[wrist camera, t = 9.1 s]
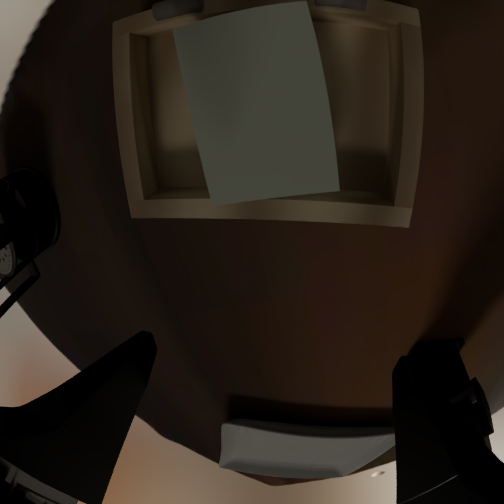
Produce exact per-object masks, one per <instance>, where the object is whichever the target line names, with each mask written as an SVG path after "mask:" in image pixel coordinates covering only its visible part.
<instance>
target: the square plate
mask: <svg viewBox="0 0 504 504" xmlns="http://www.w3.org/2000/svg"><path fill="white" fill-rule="evenodd" d="M394 445H395V433H394V427H329V426H312V425H299V424H289V423H281V422H271V421H261V420H254V419H243V418H240V419H233V420H231V421H229V422H227V423H223V424H222V428H221V457H220V461H219V467H221V468H225V469H230V470H236V471H241V472H247V473H253V474H259V475H266V476H275V477H288V478H335V477H344V476H346V475H347V474H349V473H351V472H353V471H355V470H357V469H359V468H361V467H362V466H364V465H366V464H367V463H369V462H371V461H372V460H374V459H375V458H377V457H378V456H380V455H381V454H383V453H384V452H386V451H387V450H388V449H390V448H391V447H392V446H394Z"/></svg>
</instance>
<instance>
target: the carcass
mask: <svg viewBox="0 0 504 504" xmlns="http://www.w3.org/2000/svg"><path fill="white" fill-rule="evenodd" d="M298 1H307V5H308V8H309V12H310V16H311V19H312V23H313V27H314V31H315V35H316V40H317V44H318V48H319V53H320V57H321V62H322V67H323V72H324V77H325V82H326V88H327V94H328V100H329V106H330V112H331V119H332V126H333V133H334V141H335V149H336V158H337V167H338V177H339V189H340V191H335V192H324V193H314V194H304V195H295V196H286V197H277V198H269V199H261V200H253V201H246V202H238V203H231V204H224V205H217V206H212V203H211V199H210V195H209V191H208V187H207V183H206V179H205V175H204V170H203V166H202V162H201V158H200V154H199V150H198V145H197V141H196V137H195V133H194V128H193V124H192V120H191V115H190V111H189V106H188V102H187V97H186V93H185V88H184V83H183V79H182V74H181V69H180V65H179V60H178V55H177V50H176V45H175V40H174V35H173V29H176V28H179V27H182V26H185V25H188V24H191V23H194V22H197V21H200V20H204V19H207V18H211V17H215V16H218V15H222V14H226V13H230V12H235V11H239V10H244V9H249V8H254V7H260V6H266V5H273V4H280V3H289V2H298ZM113 83H114V99H115V112H116V122H117V131H118V140H119V148H120V155H121V162H122V168H123V175H124V181H125V186H126V192H127V197H128V203H129V208H130V213H131V217H132V218H224V219H263V220H291V221H313V222H333V223H351V224H367V225H382V226H395V227H408V228H409V224H410V219H411V214H412V209H413V203H414V197H415V191H416V185H417V178H418V170H419V162H420V153H421V143H422V130H423V111H424V67H423V48H422V36H421V27H420V19H419V12H418V9H415V8H412V7H408V6H405V5H401V4H397V3H393V2H389V1H384V0H164V1H161V2H157V3H154V4H153V6H152V9H150V10H147V11H144V12H141V13H137V14H135V15H132V16H129V17H126V18H123V19H120V20H118V21H115V22H113Z"/></svg>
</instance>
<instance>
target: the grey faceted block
mask: <svg viewBox="0 0 504 504" xmlns="http://www.w3.org/2000/svg"><path fill="white" fill-rule="evenodd" d="M173 35H174V40H175V45H176V50H177V55H178V60H179V65H180V69H181V74H182V79H183V83H184V88H185V93H186V97H187V102H188V106H189V111H190V115H191V120H192V124H193V128H194V133H195V137H196V141H197V145H198V150H199V154H200V158H201V162H202V166H203V170H204V175H205V179H206V183H207V187H208V191H209V195H210V199H211V203H212V206H217V205H224V204H231V203H238V202H246V201H253V200H261V199H269V198H277V197H286V196H295V195H304V194H314V193H324V192H335V191H340V189H339V177H338V167H337V158H336V149H335V141H334V133H333V126H332V119H331V112H330V106H329V100H328V94H327V88H326V82H325V77H324V72H323V67H322V62H321V57H320V53H319V48H318V44H317V40H316V35H315V31H314V27H313V23H312V19H311V16H310V12H309V8H308V5H307V1H298V2H289V3H280V4H273V5H266V6H260V7H254V8H249V9H244V10H239V11H235V12H230V13H226V14H222V15H218V16H215V17H211V18H207V19H204V20H200V21H197V22H194V23H191V24H188V25H185V26H182V27H179V28H176V29H173Z"/></svg>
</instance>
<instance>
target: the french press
mask: <svg viewBox="0 0 504 504" xmlns="http://www.w3.org/2000/svg"><path fill="white" fill-rule="evenodd" d="M15 188H16V190H17V191H18V192H19V193H20V195H21V197H22V198H23V200H24V202H25V204H26V206H27V208H25V209H23V210H22V211H20V212H19V213H17V214H16V211H15V206H14V190H15ZM32 226H34V229H35V233H36V238H34V237H32V236H31V235H30V234H28V233H27V232H26V231H27V230H28V229H30V228H31V227H32ZM59 234H60V214H59V209H58V205H57V201H56V199H55V196H54V193H53V191H52V189H51V187H50V185H49V183H48V182H47V181H46V179H45V178H44V176H43V175H42V174H41V173H40V172H39V171H37V170H36V169H35V168H33V167H30V166H22V167H19V168H17V169H16V170H15V171H14V172H13V173H11V174H9V175H7V176H5V177H3V178H1V179H0V274H1V275H3V276H5V277H4V278H3V279H2V280H1V281H0V290H1V289H2V288H3V287H4V286H5V285H6V284H7V283H8V282H9V281H10V280H11V279H12V278H13V277H14V276H16V275H17V274H18V273H19V272H20V271H21V270H22V269H23V268H24V267H25V266H27V268H28V270H29V272H30V277H29V278H28V279H27V280H26V281H24V282H23V283H22V284H21V285H20V286H19V287H18V288H17V289H16V290H15V291H14V292H13V293H12V294H11V295H10V296H9V297H8V298H7V300H5V302H4V303H3V304H2V305H1V306H0V318H1V317H2V316H3V315H4V314H5V313H6V312H7V310H8V309H9V308H10V307H11V306H12V305H13V304H14V303H15V302H16V301H17V300H18V299H19V298H20V297H21V296H22V295H23V294H24V293H25V292H26V291H27V290H28V289H29V288H30V287H31V286H32V285H33V284H34V283H35V282H36V281H37V280H38V279H39V278H40V272H39V270H38V268H37V266H36V264H35V262H34V259H35V258H36V257H37V256H38V255H39V254H41V253H42V252H43V251H44V250H47V249H50V248H51V247H52V246H53V245H55V243H56V242H57V240H58V237H59ZM17 259H18V260H20V261H22V262H21V263H20V264H19V265H17Z"/></svg>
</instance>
